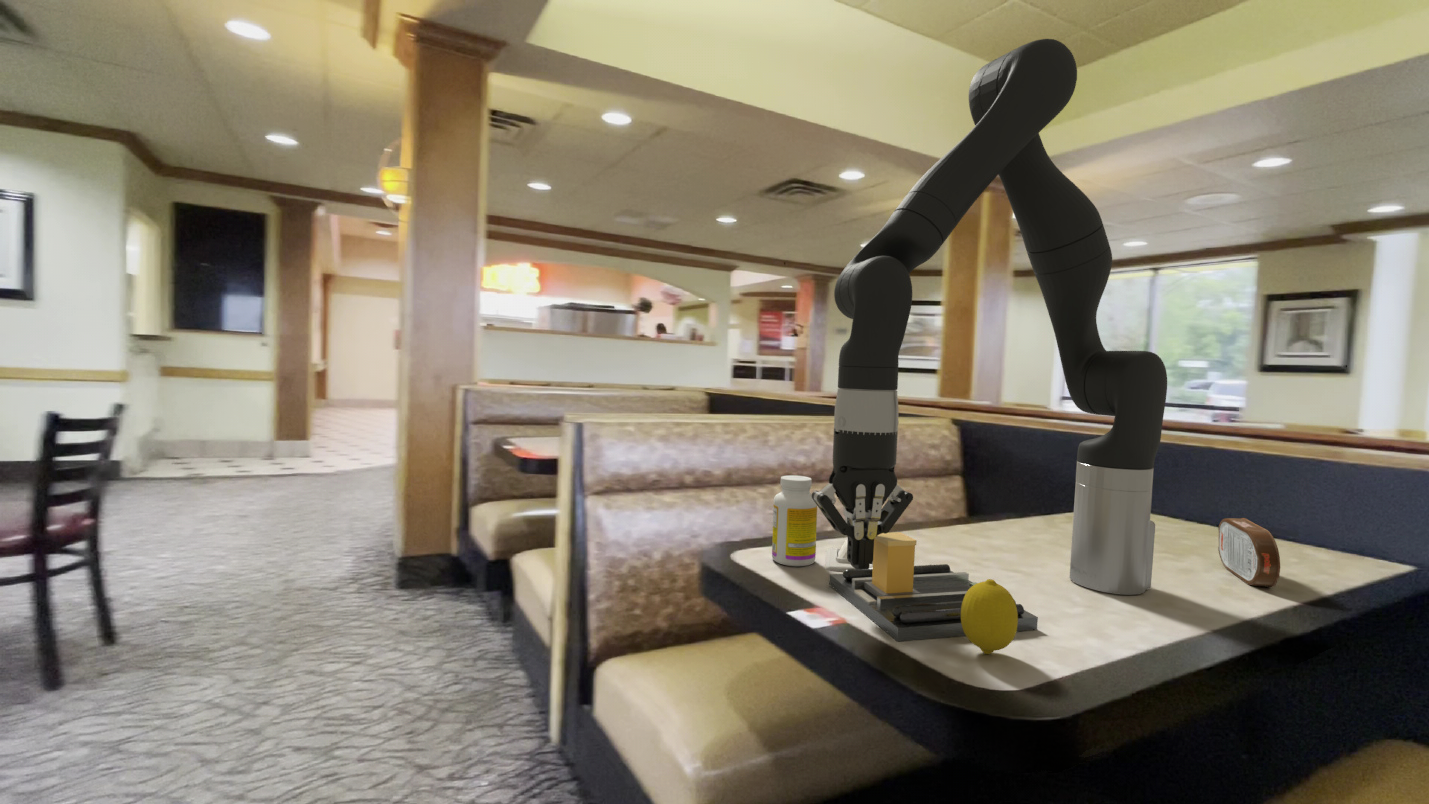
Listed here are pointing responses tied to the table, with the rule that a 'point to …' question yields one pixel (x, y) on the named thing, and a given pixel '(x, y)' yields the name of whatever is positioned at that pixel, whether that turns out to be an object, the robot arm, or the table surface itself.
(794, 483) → the supplement bottle
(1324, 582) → the table surface
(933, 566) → the panel
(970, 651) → the table surface
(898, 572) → the lever
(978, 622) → the lemon
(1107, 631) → the table surface
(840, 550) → the light switch
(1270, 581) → the tin
